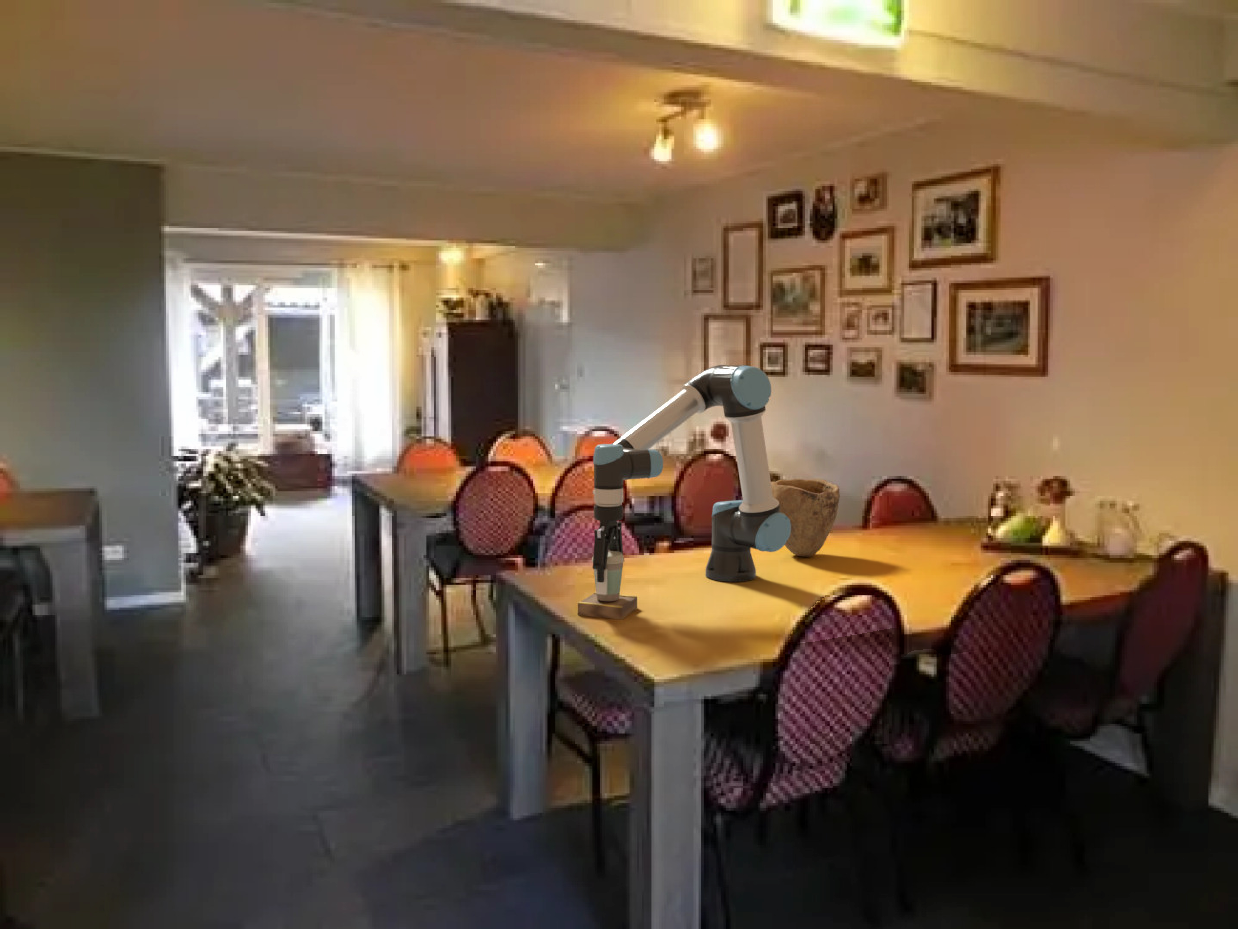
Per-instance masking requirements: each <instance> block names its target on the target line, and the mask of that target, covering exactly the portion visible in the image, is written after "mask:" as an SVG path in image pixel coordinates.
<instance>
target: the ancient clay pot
mask: <svg viewBox="0 0 1238 929" xmlns="http://www.w3.org/2000/svg"><path fill="white" fill-rule="evenodd" d="M771 487H772V494H773V497H774V498H775V499H776V500H778V501H779V505H780V511H781V513H783V514H785V515H786V516H787V517H788V518H789V520H790V523H791V532H790V536H789V539H788V540H787V541H786V544H785V545H784V546H785V548H786V549H787V550H788V551H789V552H790V553H792V554H793V555H796V556H798V557H806V558H807V557H808V558H809V557H812V556H814V555H816V553H818V552H819V551H820V550H821V549H822V548H823V547H824V544H825V542H826V541H827V539H828V536H829V534H830V533H831V531H832V529H833V526H834V523H835V521H836V518H837V514H838V508H839V503H840V497H841V496H840V494H841V493H840V486H839V485H837V484H834V483H831V482H830V481H827V480H825V479H821V478H815V479H814V478H813V479H811V478H810V479H801V478H792V479H779V480H776V481H771Z"/></svg>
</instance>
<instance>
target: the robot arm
mask: <svg viewBox="0 0 1238 929" xmlns="http://www.w3.org/2000/svg"><path fill="white" fill-rule="evenodd" d="M771 395H772V385H771V381H770V379H769V377H768V375H767V374H766V372H764V371H763V370H762V369H761V368H759V367H757V366H752V365H751V366H750V365H745V364H744V365H743V364H741V365H740V364H739V365H738V364H737V365H735V364H734V365H733V364H732V365H731V364H730V365H728V364H727V365H726V364H718V365H713V366H711V367H708V368H706V369H704V370H703V371H701V372H700V373H698V374H696V376H693V378H691V379H689V380H688V381H687V382H686V383H684V384H683V385H681V387H680V390H679V392H678V393H676V394H675V395H674V396H673V397H671V398H670V399H669V400H668V401H666V402H665V403H663V405H661V406H660V407H658V408H657V409H656V410H655V411H653V412H652V413H650V415H648V416H647V417H645V418H644V419H643V420H641V421H640V422H639V423H637V424H636V425H635V426H634V427H632V428H631V429H629V430H628V431H627V432H626V433H624V434H623V435H622V436H621V437H619V438H618V439H616V440H615V441H614V442H612V443H602V444H601V443H600V444H597V445H596V446H595V447H594V451H593V452H594V453H593V456H592V459H593V461H592V462H593V490H592V494H593V502H594V503H595V504H594V505H593V518H594V519H595V520H596V521H599V526H598V529H594V531H593V532H594V534H593V535H594V543H593V544H594V545H593V555H594V556H592V557H593V562H592V570H594V569H596V586H595V592H596V594H603V595H607V569H606V563H607V557H608V551H617V552H621V553H622V554H623V555H624V551H623V547H624V546H623V537H622V536H623V535H622V534H623V533H622V528H623V523H622V521H620V520H622V519H623V518H624V506H623V504H622V503H624V481H627V480H637V479H638V480H639V479H641V480H642V479H652V478H657V477H659V476H660V475H661V474H662V471H663V469H664V458H663V456H662V454H661V452H660V451H659V450H656V449H651V448H652V447H654V446H655V445H656V444H658V443H659V442H661V441H662V440H663V439H664V438H665V437H667V436H668V435H670V434H671V433H672V432H673V431H675V430H676V429H677V428H678V427H680V426H682V425H683V424H684V423H686V422H687V421H688V420H690V418H692V417H693V416H694V415H695V414H702V413H704V412H705V411H707V410H709V409H710V408H712V407H713V408H714V407H719V406H720V407H722V408H723V409H722V410H723V413H724V415H723V416H724V418H726V419H727V420H728V421H729V422H730V424H731V431H732V436H733V437H732V438H733V445H734V450H735V451H734V452H735V457H736V463H737V469H738V470H737V471H738V475H739V483H740V488H741V489H740V490H741V495H742V499H739V500H725V501H717V502H715V503H714V504H713V506H712V514H711V551H710V555H709V557H708V560H707V563H706V567H705V577H706V578H708V579H711V580H713V581H720V582H729V583H730V582H732V583H733V582H734V583H736V582H737V583H738V582H748V581H749V582H750V581H752V580H754V579H756V578H757V571H756V570H757V569H756V566H755V562H754V558H753V556H752V553H751V551H752V549H754V550H758V551H760V552H767V553H775V552H777V551H779V550H780V549H782V548H784V546H785V544H786V541H787V540H788V539H789V536H790V532H791V523H790V520H789V518H788V517H787V516H786V515H785V514H783V513H781V511H780V505H779V501H778V500H776V499H775V498H774V497H773V494H772V487H771V482H772V481H771V476H770V475H771V473H770V467H769V459H768V454H767V448H766V441H765V439H766V438H765V435H764V434H765V432H764V428H763V420H762V419H763V418H762V416H763V415H764V413H765V412H766V411H767V410H766V405H768V403H769V401H770V399H769V398H770V397H771Z"/></svg>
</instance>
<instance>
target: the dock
mask: <svg viewBox="0 0 1238 929" xmlns="http://www.w3.org/2000/svg"><path fill="white" fill-rule="evenodd" d="M637 609H638V595H630V594H620V595H619V599H618V600H616V601H600V600H598V599H597V595H596V591H594V592H593V593H592V594H590V595H589V596H588V597H586V598H584V599H583V600H581V601H578V602H577V615H578V616H586V617H594V618H604V619H613V620H624V618H626V617H627V616H628V615H630V614H631V613H632V612H634V611H635V610H637Z"/></svg>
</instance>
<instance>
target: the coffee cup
mask: <svg viewBox="0 0 1238 929" xmlns="http://www.w3.org/2000/svg"><path fill="white" fill-rule="evenodd" d="M593 556H594V554H593ZM593 556H592V557H591V562H592V563H593ZM624 562H625V557H624V553H623V554H622V553H621V552H617V551H608V557H607V563H606V569H607V595H603V594H596V595H597V599H598V600H600V601H616V600H618V599H619V595H621V584H622V579H623V578H622V577H623V569H624ZM593 574H594V583H595V587H596V569H593Z"/></svg>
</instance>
